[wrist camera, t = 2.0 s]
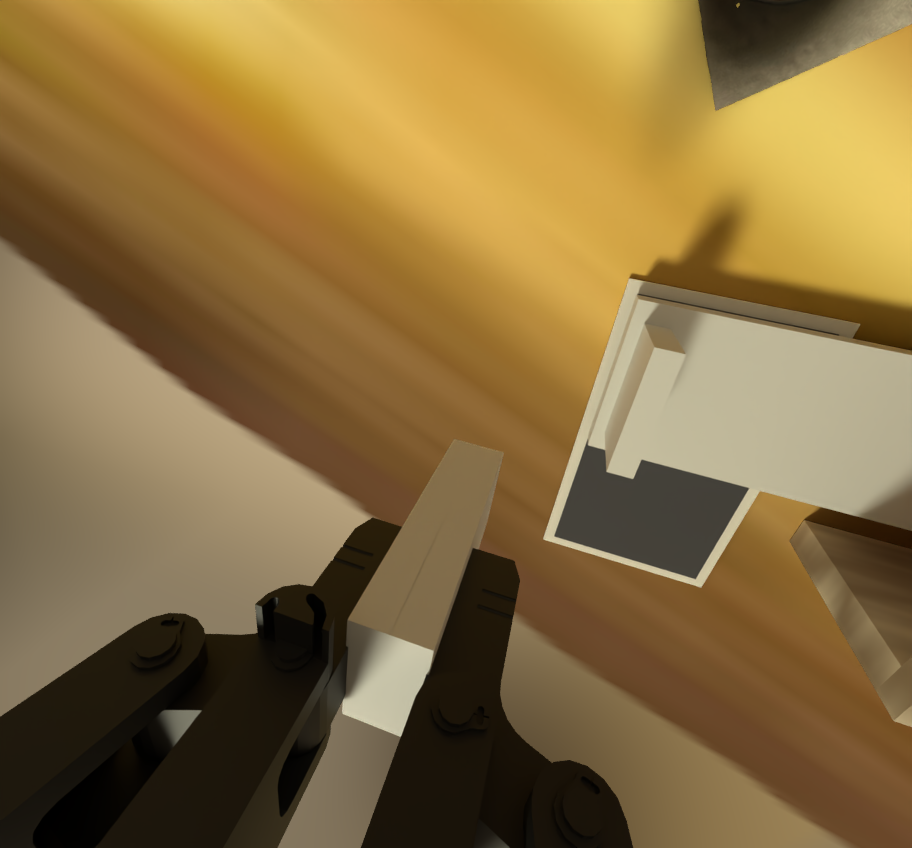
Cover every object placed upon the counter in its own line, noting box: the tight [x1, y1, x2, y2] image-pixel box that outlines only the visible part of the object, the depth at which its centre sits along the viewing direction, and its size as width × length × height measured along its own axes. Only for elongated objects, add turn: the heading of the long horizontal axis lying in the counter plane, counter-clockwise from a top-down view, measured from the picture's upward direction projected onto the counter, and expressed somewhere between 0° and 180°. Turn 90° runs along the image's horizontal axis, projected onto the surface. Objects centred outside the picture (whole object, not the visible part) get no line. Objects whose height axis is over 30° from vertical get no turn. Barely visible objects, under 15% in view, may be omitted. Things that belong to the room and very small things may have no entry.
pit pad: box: [543, 278, 861, 587], centre depth 25 cm, size 17×10×1 cm, turn 171°
